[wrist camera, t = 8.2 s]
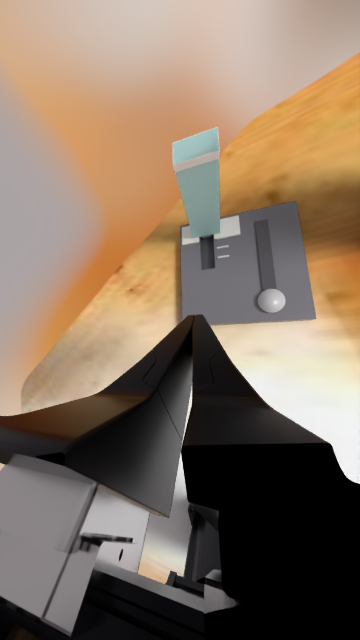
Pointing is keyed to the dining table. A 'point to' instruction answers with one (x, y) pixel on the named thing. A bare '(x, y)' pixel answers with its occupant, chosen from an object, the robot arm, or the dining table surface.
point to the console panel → (248, 269)
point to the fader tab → (199, 180)
